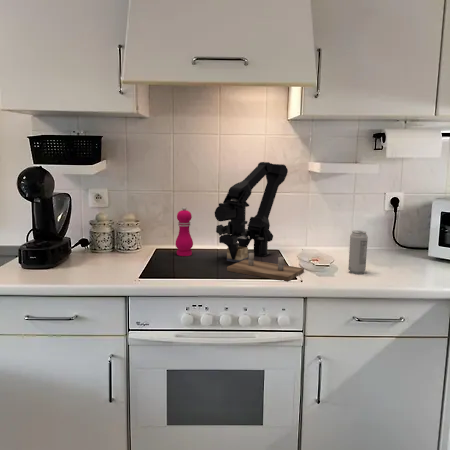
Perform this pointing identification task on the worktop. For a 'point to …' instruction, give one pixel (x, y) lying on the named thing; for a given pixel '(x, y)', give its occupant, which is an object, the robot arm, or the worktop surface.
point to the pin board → (266, 269)
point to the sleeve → (238, 254)
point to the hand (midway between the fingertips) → (237, 257)
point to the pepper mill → (184, 233)
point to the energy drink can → (358, 252)
